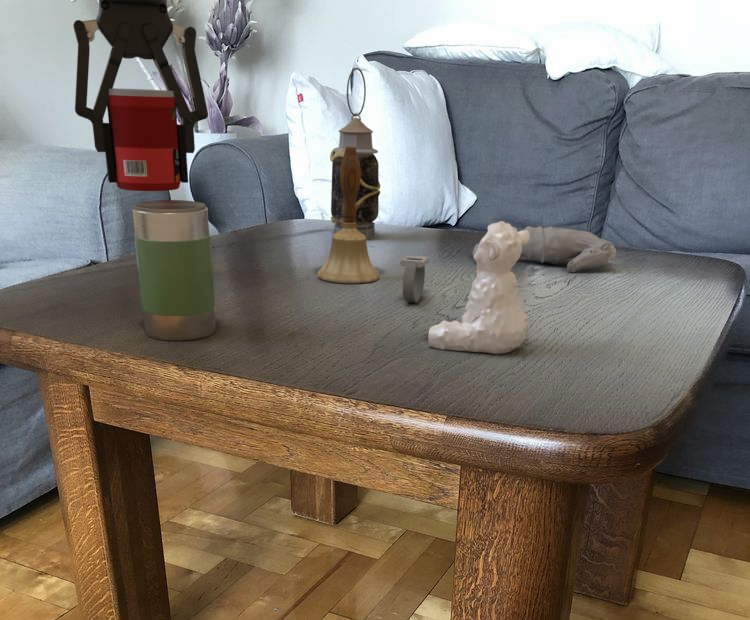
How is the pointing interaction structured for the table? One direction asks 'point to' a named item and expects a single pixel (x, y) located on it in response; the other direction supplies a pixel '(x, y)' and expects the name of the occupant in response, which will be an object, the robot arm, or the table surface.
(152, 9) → the robot arm
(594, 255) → the seahorse
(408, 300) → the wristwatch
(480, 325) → the seated beast figurine
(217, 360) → the table surface
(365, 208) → the lantern
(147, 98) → the canned food
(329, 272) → the hand bell
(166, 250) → the tin can
